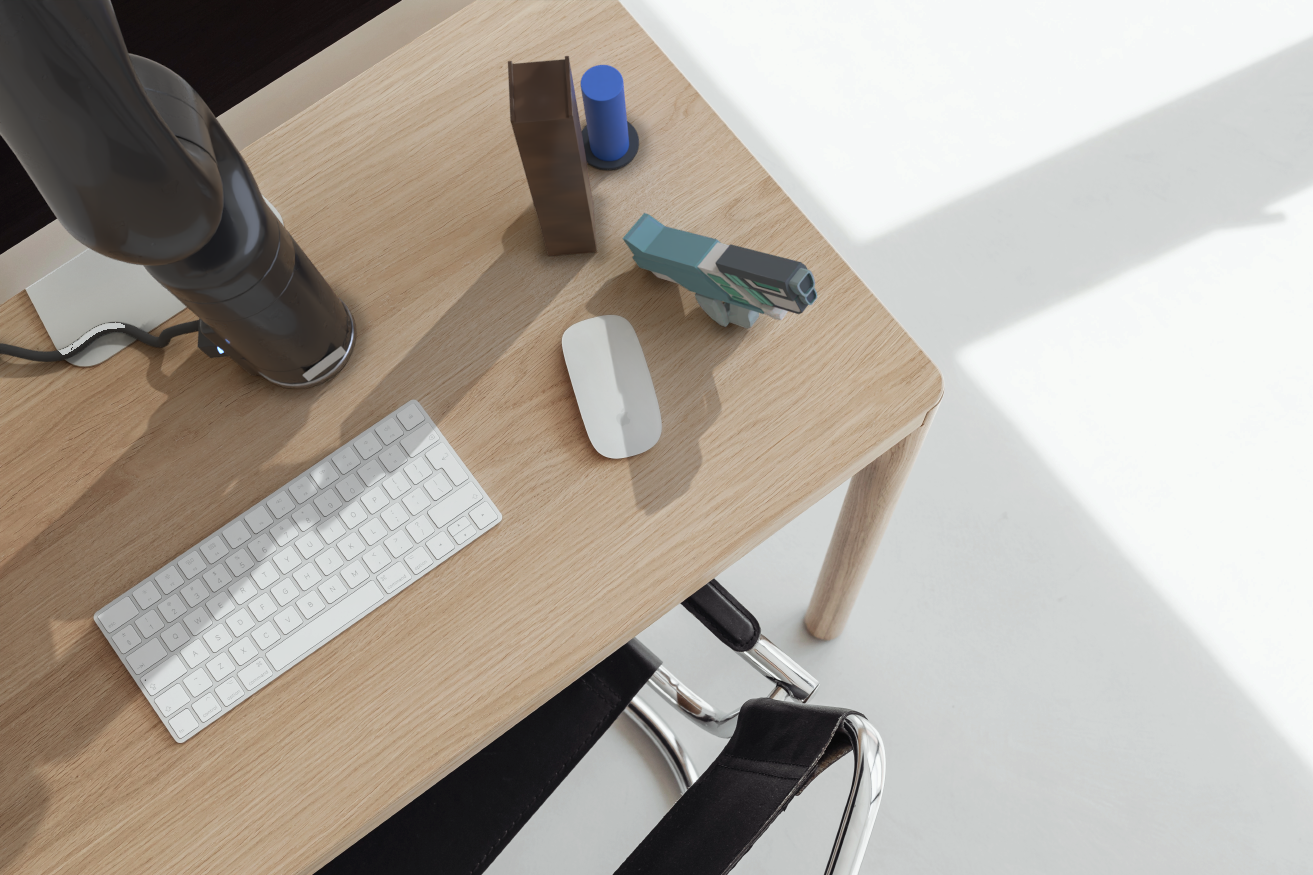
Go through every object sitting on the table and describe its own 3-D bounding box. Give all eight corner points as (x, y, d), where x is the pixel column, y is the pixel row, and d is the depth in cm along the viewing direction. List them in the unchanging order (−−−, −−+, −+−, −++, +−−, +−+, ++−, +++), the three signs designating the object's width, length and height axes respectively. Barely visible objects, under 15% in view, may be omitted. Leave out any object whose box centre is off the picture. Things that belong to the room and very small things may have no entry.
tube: (579, 66, 84) (581, 102, 83) (622, 63, 84) (624, 99, 83) (589, 129, 93) (590, 163, 92) (628, 126, 93) (630, 160, 92)
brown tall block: (548, 256, 90) (510, 121, 70) (545, 207, 91) (507, 61, 72) (597, 252, 90) (572, 115, 70) (593, 203, 91) (568, 55, 72)
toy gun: (831, 371, 79) (783, 286, 72) (671, 316, 92) (618, 240, 85) (857, 337, 80) (812, 250, 73) (695, 287, 93) (644, 209, 86)
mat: (580, 173, 92) (580, 170, 92) (577, 121, 94) (576, 118, 93) (641, 168, 92) (641, 165, 92) (636, 116, 94) (636, 113, 93)
